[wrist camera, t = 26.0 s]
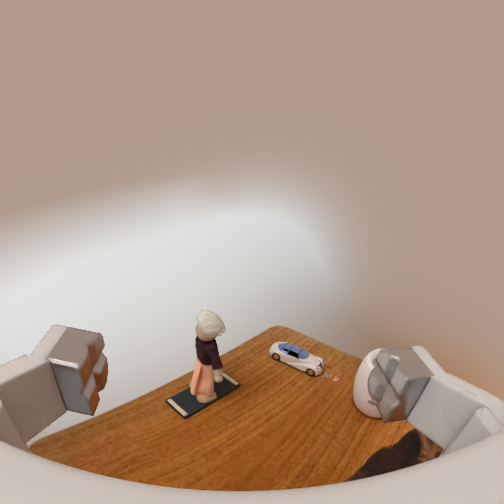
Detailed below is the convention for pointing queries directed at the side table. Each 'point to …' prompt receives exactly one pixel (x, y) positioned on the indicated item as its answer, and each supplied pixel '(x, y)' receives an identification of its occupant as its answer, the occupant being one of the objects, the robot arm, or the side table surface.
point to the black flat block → (190, 405)
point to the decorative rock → (399, 455)
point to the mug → (365, 386)
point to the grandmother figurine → (207, 356)
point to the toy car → (297, 358)
